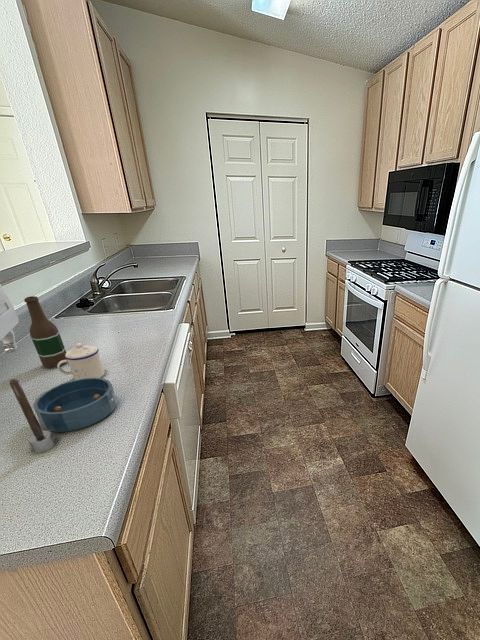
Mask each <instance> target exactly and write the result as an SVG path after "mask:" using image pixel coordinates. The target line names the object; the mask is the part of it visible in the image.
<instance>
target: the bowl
mask: <svg viewBox="0 0 480 640" xmlns="http://www.w3.org/2000/svg"><path fill="white" fill-rule="evenodd" d="M113 387H114V385H113V384H112V383H111V381H110V380H109V379H106V378H103V377H101V378H96V377H95V378H83V379H77V380H75V379H73V380H70V381H66V382H63V383H60V384H58V385H56V386H53V387H51V388H50V389H47V390H46V391H44V392H42V393H41V394H40V395H39V396H38V397H36V399H35V401H34V402H33V409H34V412H35V414H36V416H37V419H38V420H39V422H40V425H41V428H43V429H45V430H48V431H50V432H56V433H62V432H72V431H77V430H80V429H84V428H88V427H90V426H92V425H94V424H96V423H98V422H100V421H101V420H104V419H105V418H107V416H109V415H110V414H111V413H112V412H113V411H114V410H115V409H116V407H117V403H118V400H117V396H116V393H115V390H114V388H113ZM95 394H100V395H101V396H102V397H100V398H99V399H97V400H94V395H95ZM56 406H60V407H62V409H63V410H62V412H54V411H53V409H54V408H55V407H56Z"/></svg>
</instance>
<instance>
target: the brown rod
mask: <svg viewBox="0 0 480 640" xmlns="http://www.w3.org/2000/svg"><path fill="white" fill-rule="evenodd" d="M9 386H10V388H11V390H12V392H13V394H14V396H15V398H16V401H17V402H18V404H19V407H20V408H21V411H22V413H23V415H24V418H25V419H26V421H27V424H28V425H29V427H30V430H31V432H32V435H31V436H29V437H28V440H27V441H28V444H29V446H30V447H31V449H32V452H34V453H35V454H36V453H37V454H40V453H44V452H47V451H49V450H51V449H52V448H53V447H54V446H56V440H55V438H54V436H53V433H52V431H49V430H47V429H45V430H42V427H41V426H40V425H41V424H39V421H38V418H37V417H36V415H35V413H34V412H35V411H33V408H32V406H31V404H30V401H29V399H28V397H27V396H26V393H25V391H24V389H23V387H22V384H21V383H20V380H19V379H17V378H12V379H10V380H9Z"/></svg>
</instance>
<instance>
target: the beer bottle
mask: <svg viewBox="0 0 480 640" xmlns="http://www.w3.org/2000/svg"><path fill="white" fill-rule="evenodd" d="M39 300H40V299H39V297H38V296H35V295H32V296H27V297H25V298H24V300H23V301H24V303H26V307H27V310H28V312H29V316H30V319H31V324H30V327H29V335H30V339H31V340H32V343H33V346H34V348H35V350H36V354H37V355H38V357H39V360H40V363H41V364H42V366H43V367H44V368H47V369H55V368H58V367H57V365H58V363H59V362H60V361H62V360H66V358H65V355H66V353H67V350H66V347H65V345H64V342H63V339H62V337H61V334H60V331H59V329H58V327H57V325H55V324H54V322H53V321H51V320H49V319H48V317H47V316H46V315H45V312H44V310H43V308H42V306H41V303H40V301H39ZM66 364H68V362H66V363H62V364H61V365H60V367H62V366H64V365H66Z"/></svg>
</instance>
